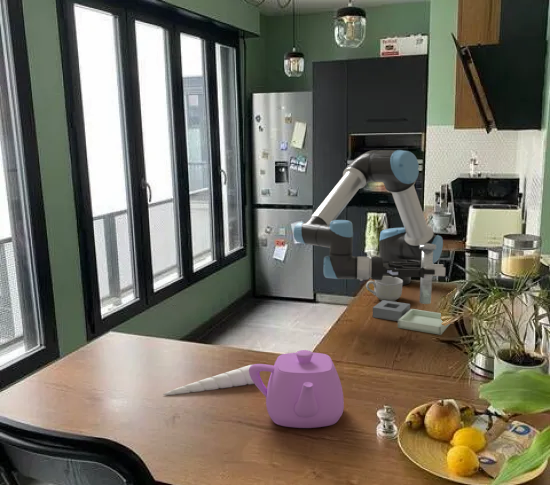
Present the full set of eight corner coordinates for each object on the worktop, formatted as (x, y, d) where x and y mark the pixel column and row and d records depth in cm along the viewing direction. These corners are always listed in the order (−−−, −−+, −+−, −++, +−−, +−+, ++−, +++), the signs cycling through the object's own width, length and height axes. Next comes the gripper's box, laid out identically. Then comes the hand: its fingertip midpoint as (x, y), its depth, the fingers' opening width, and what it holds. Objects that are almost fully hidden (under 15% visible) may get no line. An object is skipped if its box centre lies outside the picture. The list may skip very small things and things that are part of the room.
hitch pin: (419, 299, 182) (422, 242, 178) (435, 301, 179) (438, 244, 176) (414, 303, 177) (417, 245, 174) (430, 305, 175) (433, 247, 171)
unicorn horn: (162, 389, 137) (161, 371, 136) (254, 378, 142) (254, 361, 141) (163, 398, 132) (162, 379, 131) (258, 386, 138) (258, 368, 137)
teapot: (251, 398, 131) (250, 339, 128) (339, 397, 131) (339, 338, 128) (245, 451, 109) (244, 381, 106) (351, 451, 108) (352, 380, 106)
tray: (410, 315, 190) (411, 308, 189) (451, 322, 182) (452, 314, 182) (397, 327, 178) (397, 320, 177) (440, 334, 171) (441, 327, 170)
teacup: (400, 295, 214) (401, 275, 212) (404, 303, 203) (404, 283, 202) (364, 295, 215) (365, 275, 214) (366, 303, 204) (366, 282, 203)
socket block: (382, 309, 197) (383, 300, 196) (409, 313, 192) (410, 304, 191) (372, 317, 189) (372, 307, 188) (400, 321, 183) (400, 311, 183)
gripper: (369, 273, 188) (439, 275, 184) (370, 285, 171) (447, 288, 168) (370, 252, 186) (440, 253, 183) (371, 262, 170) (448, 264, 167)
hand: (443, 270), depth 176 cm, fingers closed on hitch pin, 4 cm apart
